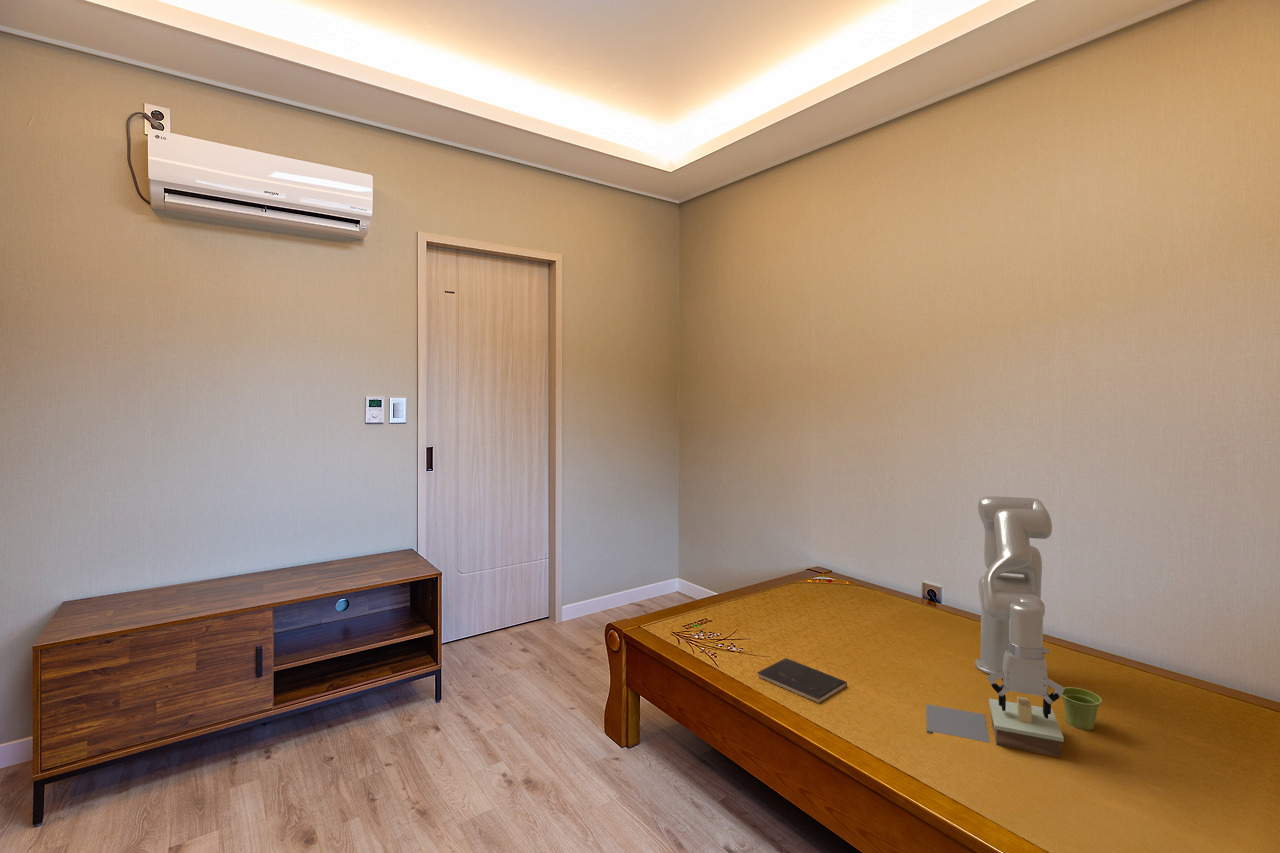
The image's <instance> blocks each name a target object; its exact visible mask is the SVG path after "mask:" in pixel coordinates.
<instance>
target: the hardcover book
mask: <svg viewBox="0 0 1280 853" xmlns="http://www.w3.org/2000/svg"><path fill="white" fill-rule="evenodd" d="M756 673H757V674H758V678H759V677H760V678H759V679H762V680H764V679H765V680H764V681H766V680H767V682H768V683H771V682H772V683H771V684H773V683H774V684H773V685H775V684H776V685H775V686H778V687H780V688H782V687H783V688H782V689H785V690H787V691H789V690H790V691H789V692H791V691H792V693H794V694H796V695H798V694H799V695H798V696H801V697H803V696H804V698H805V697H806V699H808V698H809V699H808V700H810V699H811V701H812V700H813V701H812V702H814V701H815V703H817V704H820V703H822V702H823V701H825V700H826V699H827V698H828V699H829V697H831V696H832V695H834V694H836V693H838V691H841V690H842V689H844V688H845V687H847V686H848V683H847V681H846V680H844V679H841V678H838V677H836V676H833V675H832V674H828V673H826V672H823V671H820V670H819V669H818V670H817V669H815V668H813V667H810V666H807V665H805V664H802V663H800V662H797V661H795V660H791V659H789V658H788V657H785V658H783V659H781V660H779V661H777V662H774V664H773V663H772V664H771V665H769V666H767V667H765V668H763V669H761V670H759V671H758V672H756Z"/></svg>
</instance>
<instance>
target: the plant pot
mask: <svg viewBox="0 0 1280 853" xmlns="http://www.w3.org/2000/svg"><path fill="white" fill-rule="evenodd" d="M1063 688H1064V692H1063V693H1062V694H1061V695H1060V696H1061V699H1062V701H1063V708H1064V713H1065V721H1066V723H1067V724H1068V725H1070V726H1071V727H1073V728H1076V729H1079V730H1083V731H1084V730H1085V731H1090V730H1091V731H1092V730H1094V728H1095V724H1096V718H1097V713H1098V710H1099V707H1100V704H1102V702H1103V700H1102V697H1101V696H1100V695H1098V694H1096V693H1095V692H1093V691H1090V690H1087V689H1083V688H1079V687H1071V686H1070V687H1069V686H1067V687H1063Z"/></svg>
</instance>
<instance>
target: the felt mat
mask: <svg viewBox="0 0 1280 853" xmlns="http://www.w3.org/2000/svg"><path fill="white" fill-rule="evenodd" d="M925 705H926V708H925V709H926V712H925V714H926V733H927V734H934V733H938V734H943V735H947V736H948V735H949V736H954V737H957V738H958V737H959V738H962V739H963V738H965V739H969V740H974V741H980V742H983V743H988V744H989V743H990V738H989V736H990V735H989V731H988V728H987V722H986V717H985V716H986V715H985V714H984V713H979V712H972V711H967V710H963V709H962V710H961V709H956V708H951V707H946V706H945V707H943V706H940V705H932V704H928V703H927V704H925Z"/></svg>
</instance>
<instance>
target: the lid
mask: <svg viewBox="0 0 1280 853" xmlns="http://www.w3.org/2000/svg"><path fill="white" fill-rule="evenodd" d="M988 704H989V708H990V715H991V714H992V719H993V723H994V728H995V729H997V730H1002V731H1008V732H1013V733H1018V734H1024V735H1029V736H1035V737H1040V738H1045V739H1051V740H1056V741H1061V743H1064V740H1065V738H1064V735H1063V733H1062V730H1061V728H1060V726H1059V723H1058V720H1057V718H1056V716H1055V713H1054V711H1053V709H1052V708H1051V714H1048V719H1047V718H1045V717H1044V714H1043V706H1037V705H1032V704H1031V702H1030V700H1029V698H1028V697H1024V696H1023V697H1022V696H1016V702H1012V701H1007V700H1006V711H1002V707H1001V706H999V699H994V698H990V697H989V698H988Z"/></svg>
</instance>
